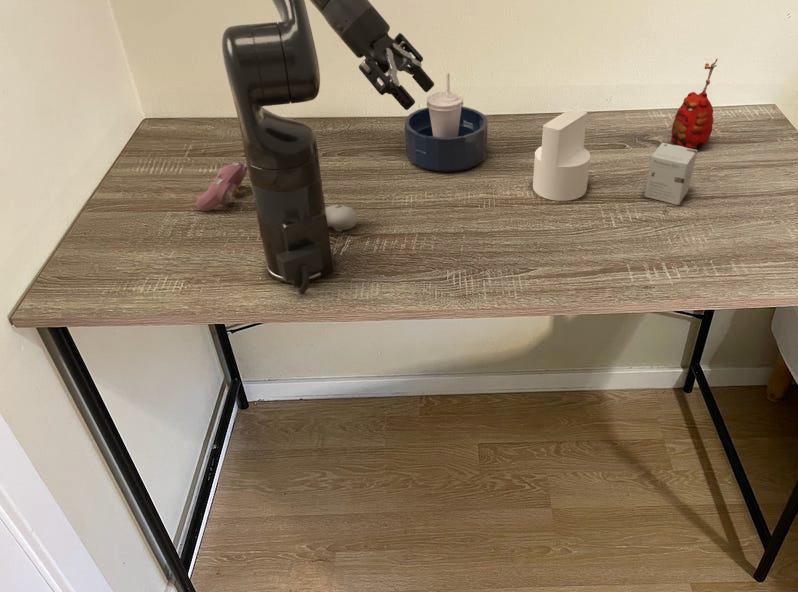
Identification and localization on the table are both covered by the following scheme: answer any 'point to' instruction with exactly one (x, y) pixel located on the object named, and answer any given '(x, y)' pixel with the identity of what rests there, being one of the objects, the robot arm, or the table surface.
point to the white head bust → (341, 217)
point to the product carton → (670, 173)
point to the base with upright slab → (562, 158)
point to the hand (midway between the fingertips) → (421, 97)
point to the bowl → (446, 142)
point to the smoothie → (445, 112)
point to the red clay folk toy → (694, 118)
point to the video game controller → (222, 187)
